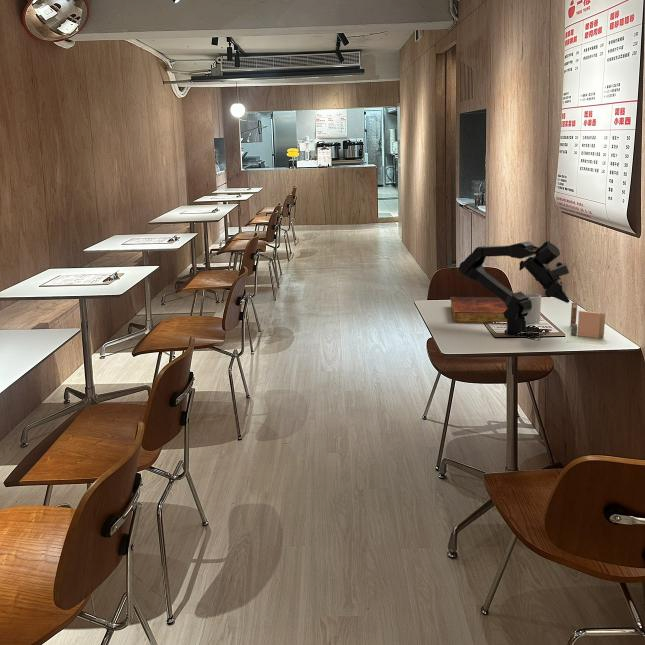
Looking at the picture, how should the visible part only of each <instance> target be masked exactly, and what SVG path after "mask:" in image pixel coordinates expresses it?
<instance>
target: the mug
mask: <svg viewBox="0 0 645 645" xmlns="http://www.w3.org/2000/svg"><path fill="white" fill-rule="evenodd" d="M522 293H523V292H522ZM523 294H524V295H525V296H527V297H529V298H528V299H530V300H531V302H532V309H531V310H530V312H529V313H528V315H527V316H525V321H526V323H530V324H529V325H535V323H537V324H540V323H541V310H542V309H541V305H542V295H541V294H539V293H532V292H530V293H529V292H526V293H523ZM539 322H540V323H539Z"/></svg>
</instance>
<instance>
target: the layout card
mask: <svg viewBox="0 0 645 645" xmlns="http://www.w3.org/2000/svg"><path fill="white" fill-rule="evenodd" d="M564 332H565V333H564V335H565V343H574V344H575V343H577V344H578V343H579V344H592V345H593V344H594V345H606V341H605V337H604V338H597V337H589V336H582V335H576V336H572V335H571V327H570V325H565V326H564ZM577 332H578V326H577Z"/></svg>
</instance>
